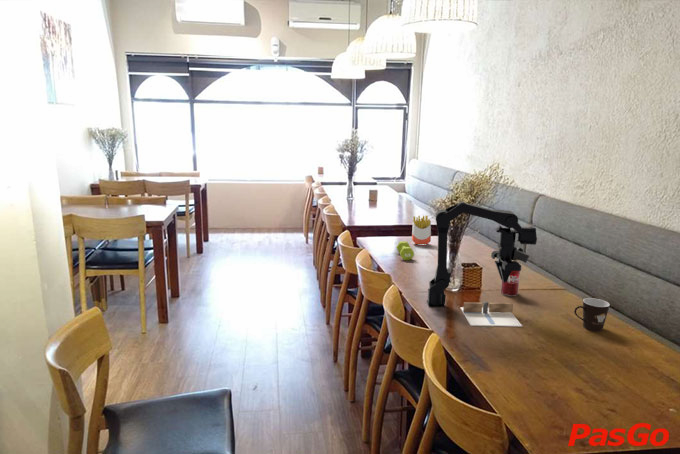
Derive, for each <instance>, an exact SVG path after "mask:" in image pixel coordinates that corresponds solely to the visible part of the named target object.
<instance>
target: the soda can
mask: <svg viewBox="0 0 680 454" xmlns="http://www.w3.org/2000/svg"><path fill="white" fill-rule="evenodd" d="M520 275H521V271H511V273H510V275H509V278H508V280H507V282H503V280H501V284H500V293H501V294H502V295H504V296H507V297H516V296H517V295H519V289H520V280H521V279H520V278H521V276H520Z"/></svg>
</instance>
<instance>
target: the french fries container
mask: <svg viewBox="0 0 680 454" xmlns="http://www.w3.org/2000/svg"><path fill="white" fill-rule="evenodd" d="M412 218H413V219H412V229H411V230H412V231H411V241H412V242H413V243H414V244H415V245H416V244H427V245H428V244H430V243H431V241H432V231H431V229H432V226H431V225H432V224H431V223H432V221H431V219H430V218H428V215H422V217H421V215H418V217H416V216H413V217H412Z"/></svg>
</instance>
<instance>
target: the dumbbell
mask: <svg viewBox="0 0 680 454" xmlns="http://www.w3.org/2000/svg"><path fill="white" fill-rule="evenodd" d="M396 250H397V252H398V253H399V255H400V257H401V259H402V260H403V259H404V260H403V261H411V260H412V259H413V257H414V256H415V252H414V250H413V248H412V247H411V246H410V244H409V243H408V241H403V240H402V241H399V242H398V243H397V245H396ZM410 259H411V260H410Z"/></svg>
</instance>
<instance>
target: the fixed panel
mask: <svg viewBox="0 0 680 454" xmlns="http://www.w3.org/2000/svg"><path fill="white" fill-rule="evenodd" d="M463 307H464V309H463V311H464V312H482V308H483V313H484V314H487V313H488V308H489V302H488V301H483V302H469V301H467V302H465V301H463Z"/></svg>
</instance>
